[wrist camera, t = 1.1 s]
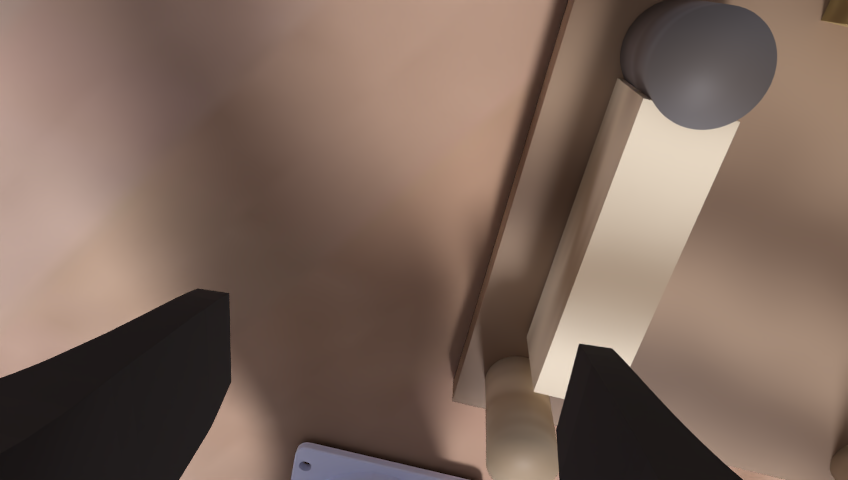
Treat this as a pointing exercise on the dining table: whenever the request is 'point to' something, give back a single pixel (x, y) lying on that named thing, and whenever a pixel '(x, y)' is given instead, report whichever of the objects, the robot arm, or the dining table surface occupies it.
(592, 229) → the leg bar
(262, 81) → the dining table surface
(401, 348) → the dining table surface
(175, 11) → the dining table surface
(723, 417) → the stool seat
